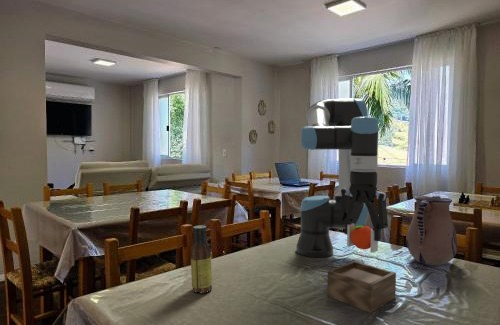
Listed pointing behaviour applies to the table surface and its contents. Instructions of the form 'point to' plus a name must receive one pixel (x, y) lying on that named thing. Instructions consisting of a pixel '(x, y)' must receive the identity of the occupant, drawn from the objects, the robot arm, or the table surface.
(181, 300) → the table surface
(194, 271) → the sauce bottle
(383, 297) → the walnut tray
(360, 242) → the clementine
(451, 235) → the ceramic pitcher
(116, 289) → the table surface
